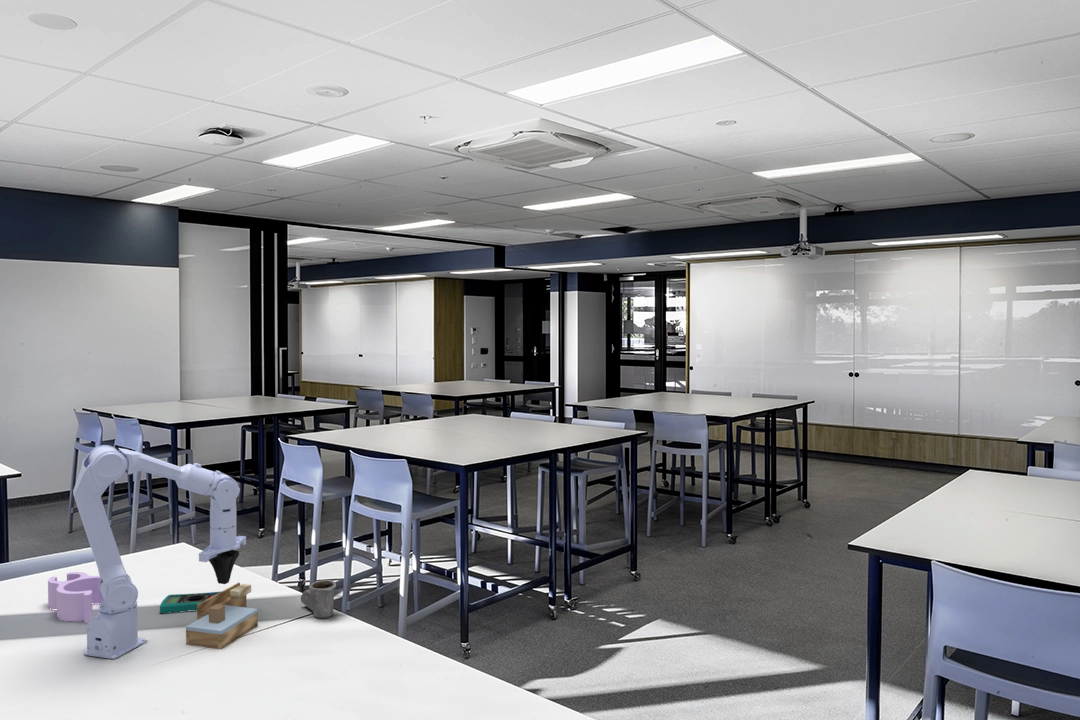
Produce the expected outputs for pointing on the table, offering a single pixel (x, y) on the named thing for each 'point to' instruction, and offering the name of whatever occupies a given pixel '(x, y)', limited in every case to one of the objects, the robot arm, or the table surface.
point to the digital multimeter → (184, 602)
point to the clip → (74, 596)
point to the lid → (221, 619)
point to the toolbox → (228, 636)
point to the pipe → (320, 598)
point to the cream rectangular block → (240, 591)
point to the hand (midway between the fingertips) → (223, 582)
